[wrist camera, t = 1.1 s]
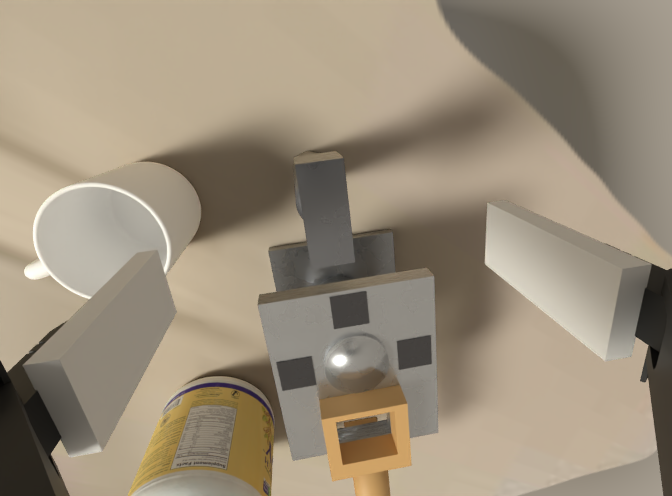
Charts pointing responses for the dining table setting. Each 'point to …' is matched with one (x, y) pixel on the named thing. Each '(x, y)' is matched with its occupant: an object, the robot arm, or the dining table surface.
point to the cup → (113, 225)
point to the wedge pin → (324, 207)
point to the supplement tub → (210, 443)
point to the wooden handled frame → (371, 453)
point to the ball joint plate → (349, 338)
